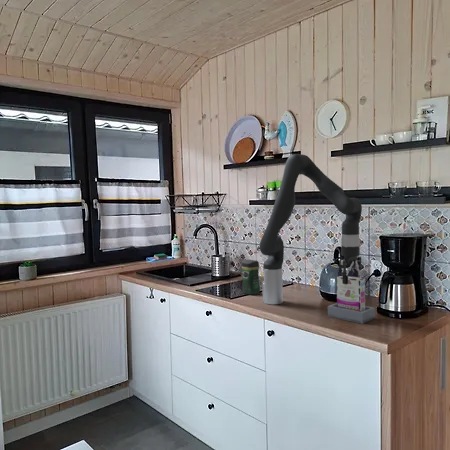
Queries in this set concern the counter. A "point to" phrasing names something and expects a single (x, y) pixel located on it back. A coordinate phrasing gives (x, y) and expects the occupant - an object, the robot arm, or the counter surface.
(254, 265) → the coffee jar
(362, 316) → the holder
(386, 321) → the counter surface
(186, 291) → the counter surface
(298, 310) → the counter surface
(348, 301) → the candy bar box
